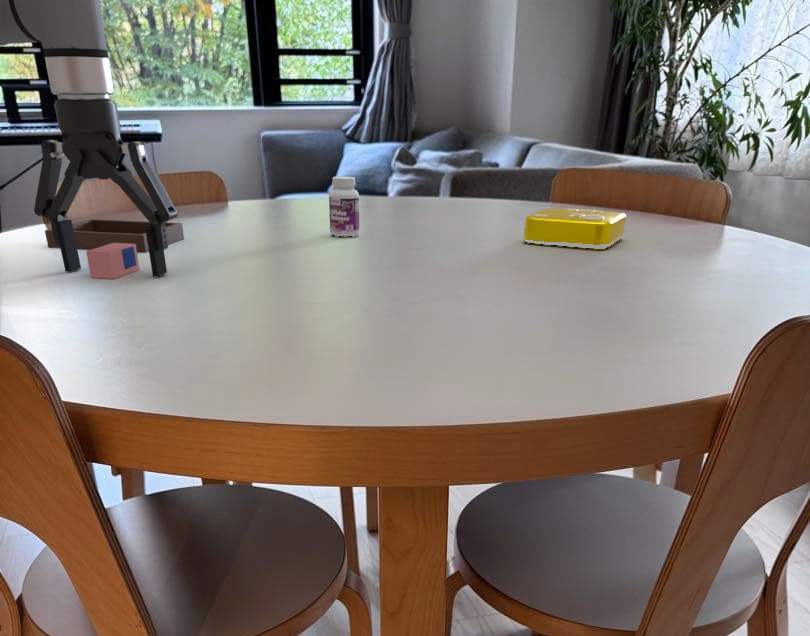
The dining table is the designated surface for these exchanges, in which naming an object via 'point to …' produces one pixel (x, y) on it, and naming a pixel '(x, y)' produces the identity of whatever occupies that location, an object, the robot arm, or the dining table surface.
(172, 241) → the tray
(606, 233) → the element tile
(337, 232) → the pill bottle
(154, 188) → the robot arm
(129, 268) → the eraser
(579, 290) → the dining table surface
